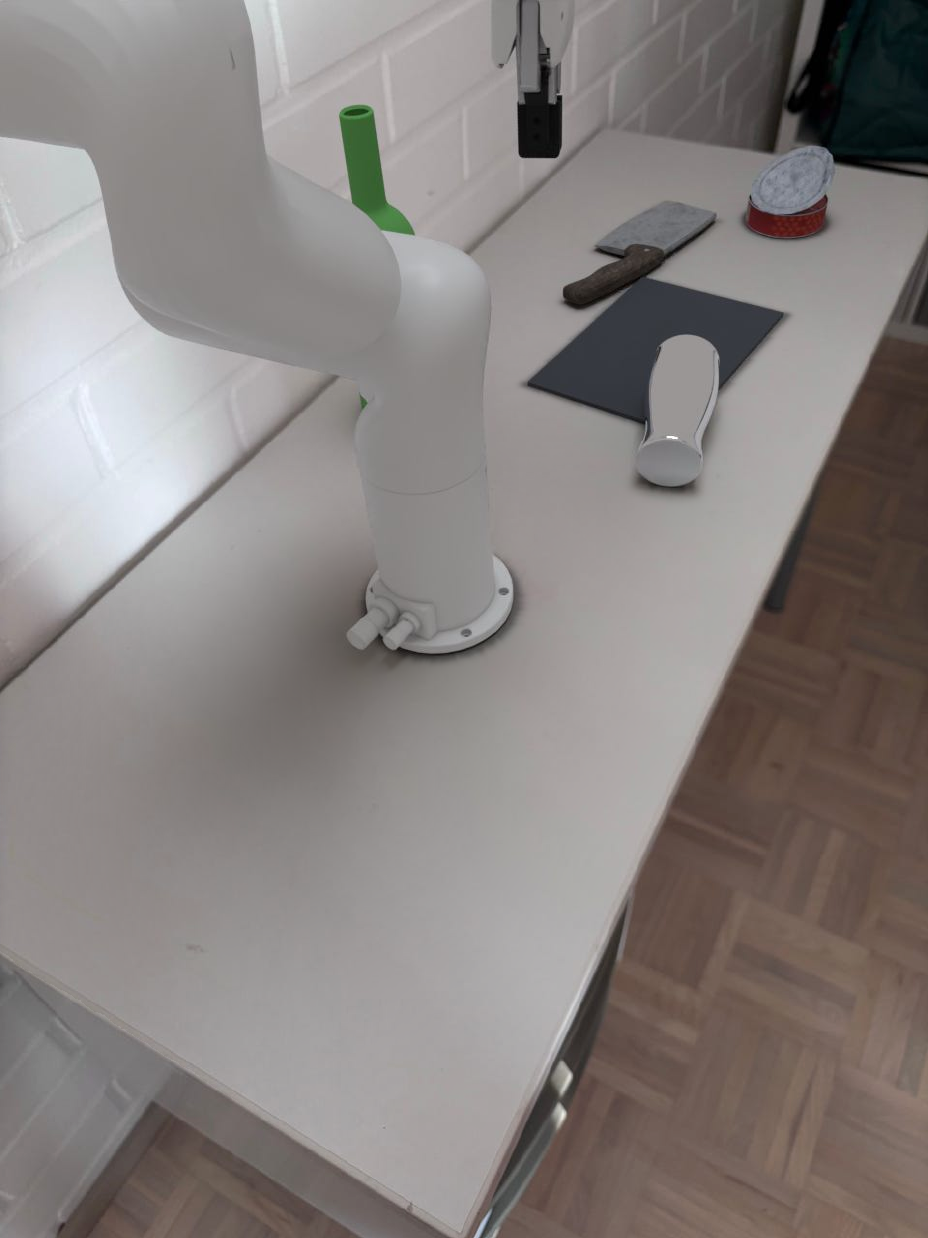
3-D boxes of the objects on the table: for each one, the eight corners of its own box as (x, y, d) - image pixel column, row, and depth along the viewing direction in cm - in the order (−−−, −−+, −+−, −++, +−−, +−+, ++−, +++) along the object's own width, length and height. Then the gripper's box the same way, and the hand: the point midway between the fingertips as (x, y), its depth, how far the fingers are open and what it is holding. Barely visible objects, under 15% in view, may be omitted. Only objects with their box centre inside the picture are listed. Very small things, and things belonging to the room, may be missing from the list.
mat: (679, 434, 94) (679, 431, 94) (527, 385, 102) (527, 381, 102) (783, 315, 108) (783, 312, 108) (642, 279, 116) (642, 276, 116)
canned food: (816, 262, 125) (847, 211, 115) (740, 258, 125) (765, 207, 115) (811, 189, 128) (841, 134, 118) (737, 185, 128) (761, 130, 118)
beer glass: (690, 425, 83) (706, 322, 91) (618, 445, 87) (640, 345, 95) (718, 480, 87) (732, 377, 96) (648, 497, 91) (667, 397, 100)
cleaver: (597, 314, 111) (597, 298, 109) (530, 292, 115) (529, 276, 114) (722, 219, 125) (724, 203, 124) (658, 203, 130) (659, 187, 129)
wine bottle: (417, 384, 104) (380, 86, 82) (448, 419, 99) (417, 112, 77) (352, 406, 102) (296, 107, 80) (380, 443, 97) (328, 135, 75)
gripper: (499, -162, 66) (508, 118, 80) (457, -118, 56) (475, 193, 70) (607, -168, 65) (597, 118, 78) (583, -124, 55) (577, 195, 68)
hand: (540, 153), depth 74 cm, fingers closed
